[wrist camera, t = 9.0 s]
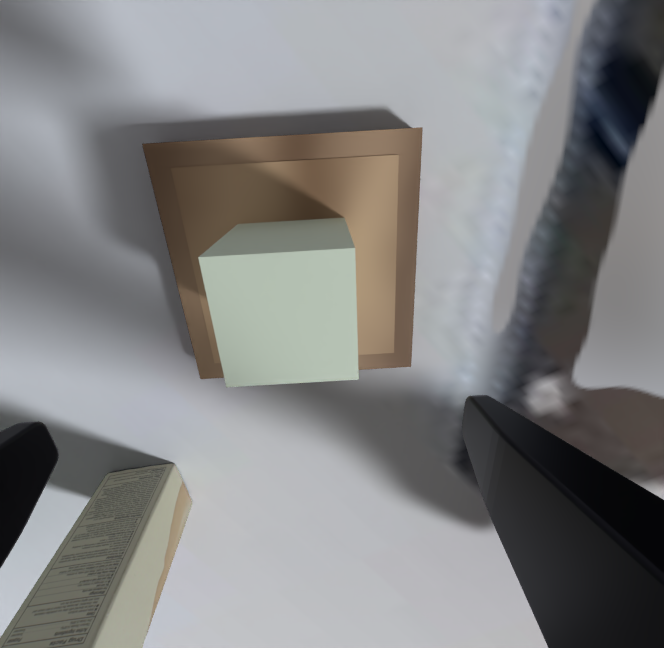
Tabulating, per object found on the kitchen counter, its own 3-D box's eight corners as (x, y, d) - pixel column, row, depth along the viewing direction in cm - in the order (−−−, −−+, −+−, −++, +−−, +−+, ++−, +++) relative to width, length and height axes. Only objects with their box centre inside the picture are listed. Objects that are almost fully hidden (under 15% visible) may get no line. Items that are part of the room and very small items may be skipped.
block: (344, 217, 17) (355, 248, 12) (348, 315, 19) (358, 379, 14) (237, 223, 17) (198, 257, 12) (253, 320, 19) (226, 387, 14)
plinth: (414, 129, 17) (422, 127, 15) (405, 353, 22) (411, 367, 21) (156, 144, 17) (141, 143, 15) (208, 365, 22) (200, 379, 21)
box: (129, 511, 27) (17, 719, 17) (105, 470, 25) (-35, 676, 15) (197, 502, 27) (124, 708, 17) (178, 460, 25) (84, 663, 15)
